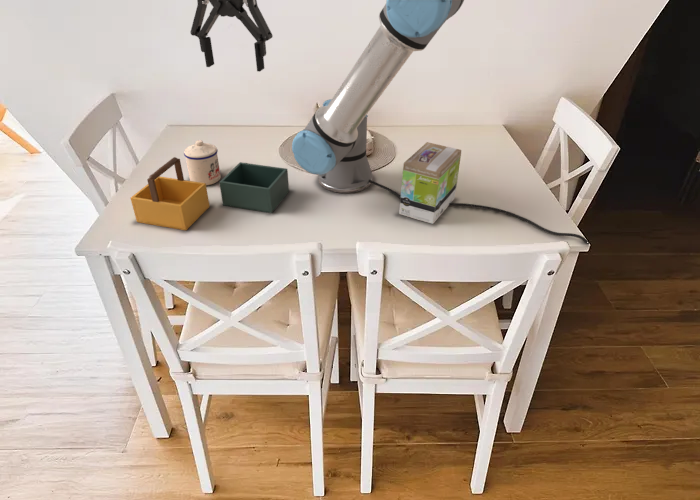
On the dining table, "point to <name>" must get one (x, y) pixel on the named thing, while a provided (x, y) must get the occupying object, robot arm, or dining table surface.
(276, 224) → the dining table surface
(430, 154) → the tea box
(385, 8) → the robot arm
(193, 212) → the ochre basket
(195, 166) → the teacup with lid
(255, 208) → the green basket
